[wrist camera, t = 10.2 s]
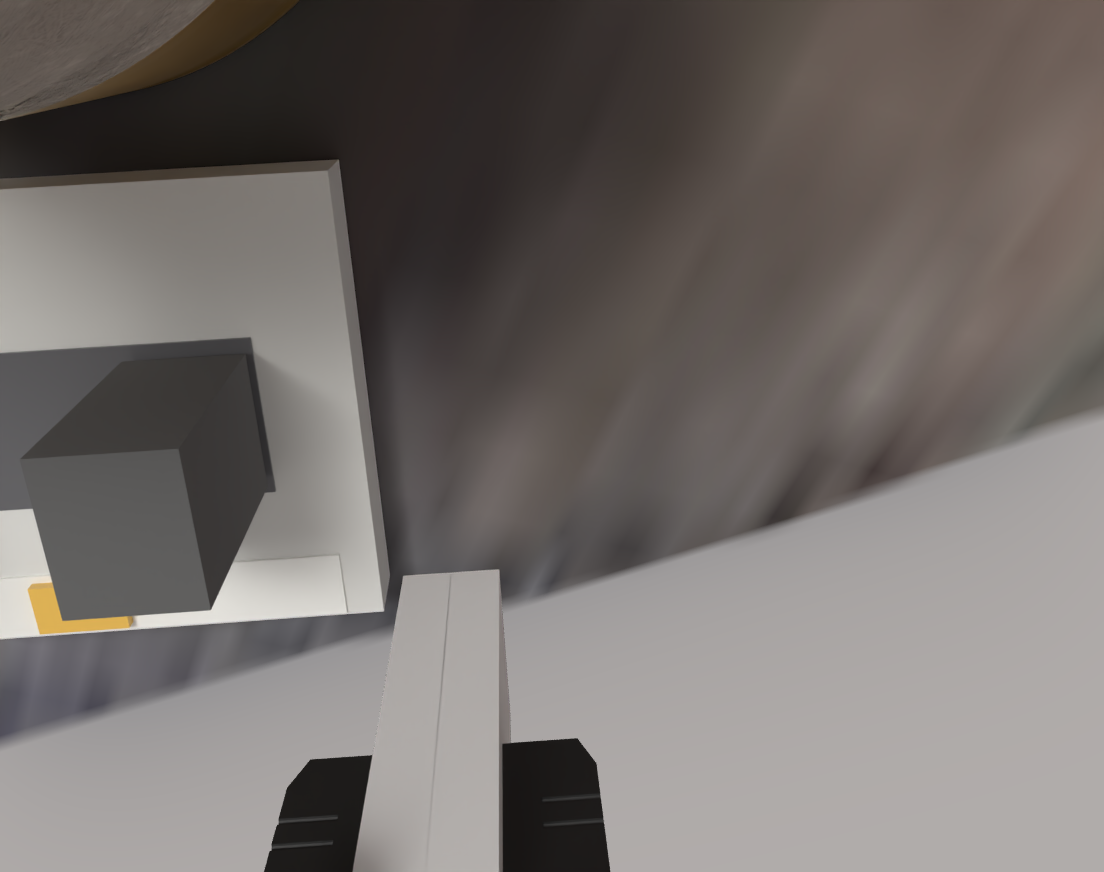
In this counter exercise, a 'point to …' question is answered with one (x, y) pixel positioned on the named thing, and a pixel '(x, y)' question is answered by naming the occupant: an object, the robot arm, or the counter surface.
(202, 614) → the switch board
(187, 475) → the knob
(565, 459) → the counter surface
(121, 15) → the vase
